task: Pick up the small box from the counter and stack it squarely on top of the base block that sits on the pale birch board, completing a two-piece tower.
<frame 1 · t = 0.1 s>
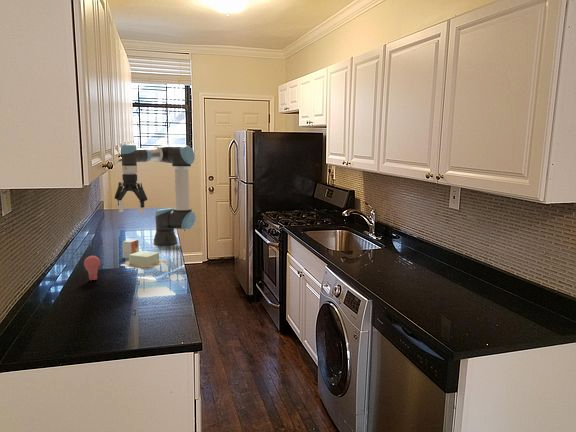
hand: (131, 212, 237), 28 cm above the counter, fingers open, 13 cm apart
light bulb: (93, 280, 208), on the counter
base block: (144, 262, 237), point 1 cm above the counter, touching birch board
small box: (131, 258, 250), on the counter
birch board: (144, 265, 237), on the counter
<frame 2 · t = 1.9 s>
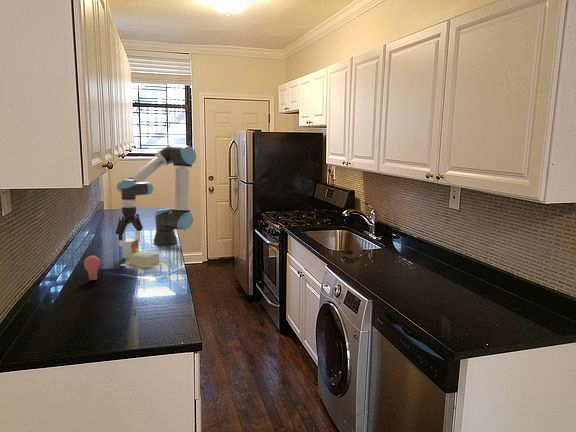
hand: (130, 243, 249), 9 cm above the counter, fingers open, 13 cm apart
nothing on the counter moved.
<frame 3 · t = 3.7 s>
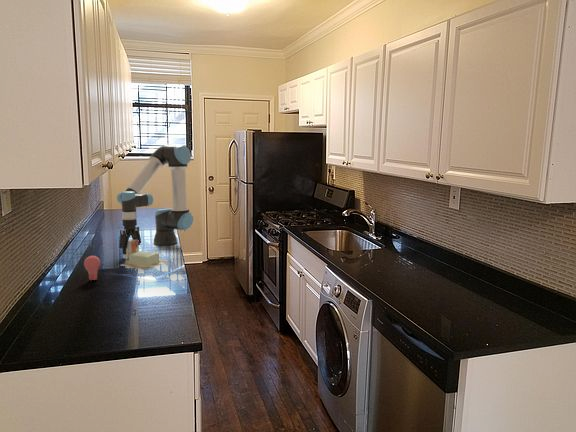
hand: (131, 257, 250), 0 cm above the counter, fingers closed on small box, 8 cm apart
small box: (131, 258, 250), on the counter, touching gripper
everything else where it was.
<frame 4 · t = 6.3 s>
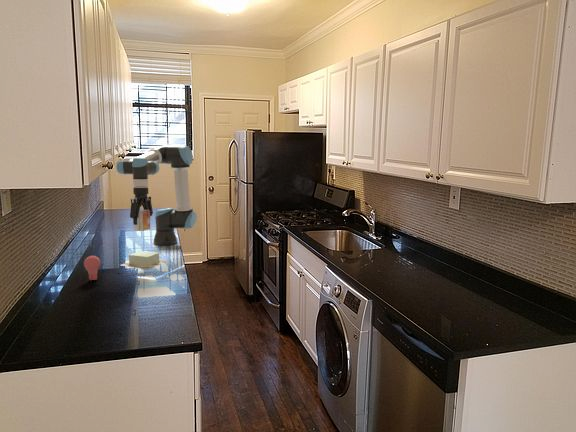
hand: (142, 229, 234), 20 cm above the counter, fingers closed on small box, 8 cm apart
small box: (142, 230, 234), point 19 cm above the counter, touching gripper
everything else where it was.
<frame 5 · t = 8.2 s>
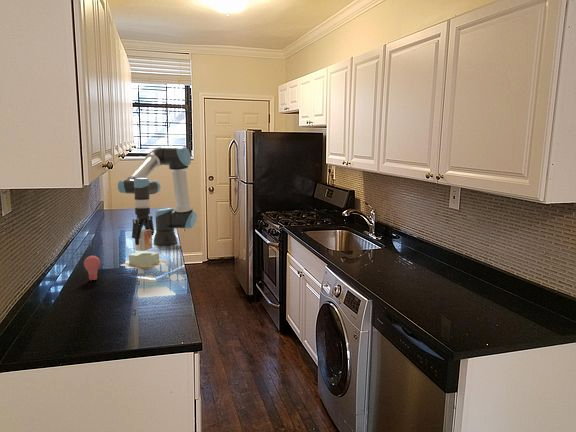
hand: (143, 248, 235), 9 cm above the counter, fingers closed on small box, 8 cm apart
small box: (143, 249, 235), point 8 cm above the counter, touching gripper
everything else where it was.
when the fingers open (8 cm above the counter, at t = 9.4 s): small box drops 1 cm, resting on base block.
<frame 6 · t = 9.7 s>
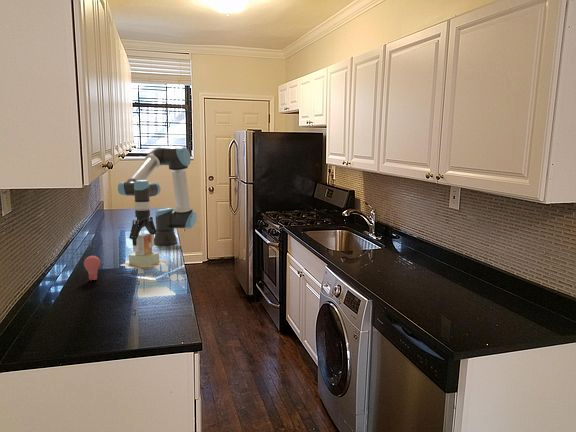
hand: (143, 248, 235), 9 cm above the counter, fingers open, 12 cm apart
base block: (144, 262, 237), point 1 cm above the counter, touching birch board, small box
small box: (143, 254, 236), point 6 cm above the counter, touching base block
everything else where it was.
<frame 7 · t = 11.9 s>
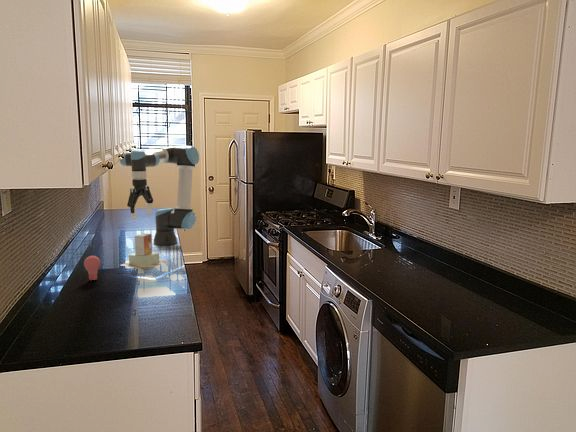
hand: (141, 216, 244), 25 cm above the counter, fingers open, 13 cm apart
nothing on the counter moved.
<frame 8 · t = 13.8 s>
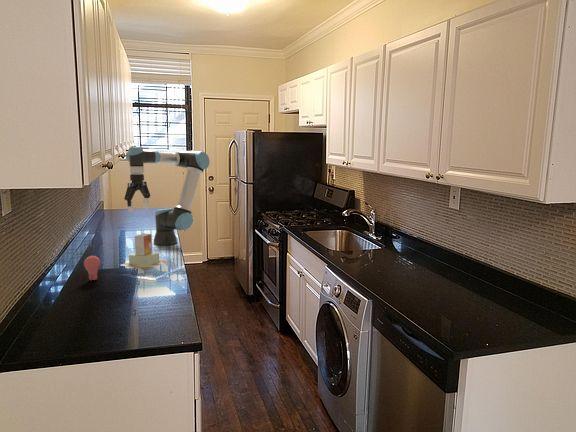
hand: (138, 210, 254), 27 cm above the counter, fingers open, 13 cm apart
nothing on the counter moved.
at the end: small box inside the target area on the base block (0.2 cm from its centre), point 4.8 cm above the base block's base; small box tilted 0°; base block moved 0.0 cm from its start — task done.
